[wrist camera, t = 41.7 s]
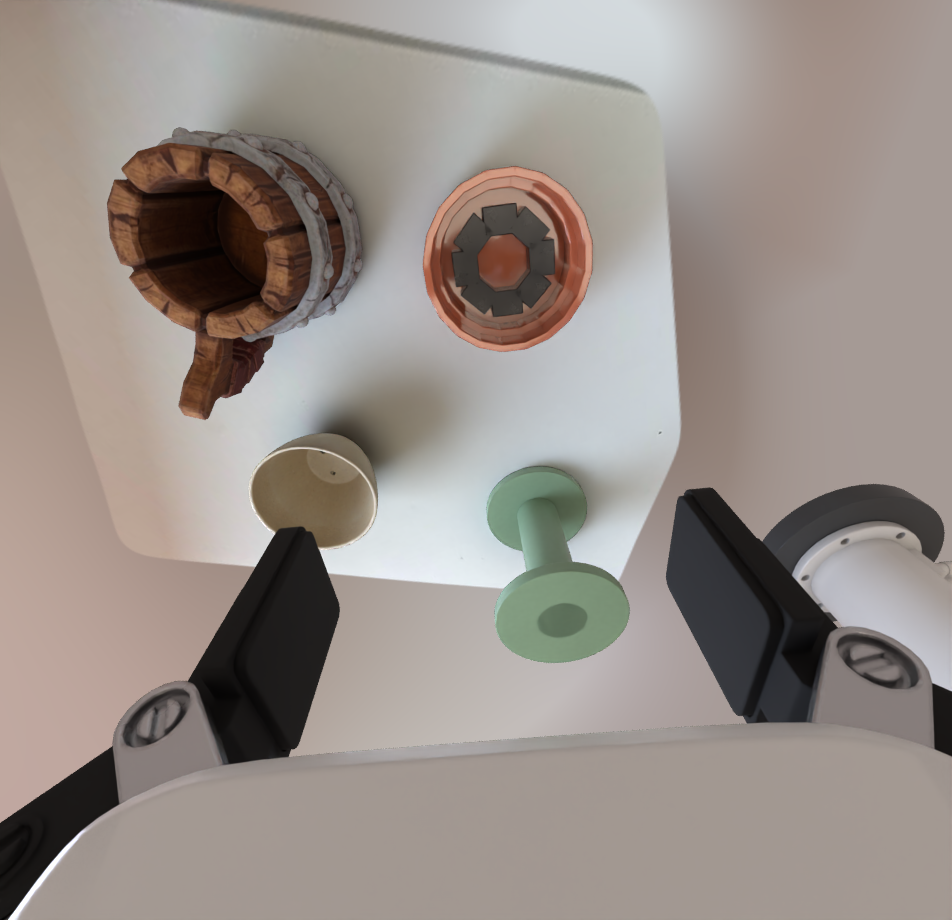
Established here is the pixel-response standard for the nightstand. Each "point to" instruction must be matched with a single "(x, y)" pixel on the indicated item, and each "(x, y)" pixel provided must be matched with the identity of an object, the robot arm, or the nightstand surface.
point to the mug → (233, 247)
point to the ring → (537, 256)
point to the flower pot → (317, 489)
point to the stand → (551, 572)
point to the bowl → (509, 258)
